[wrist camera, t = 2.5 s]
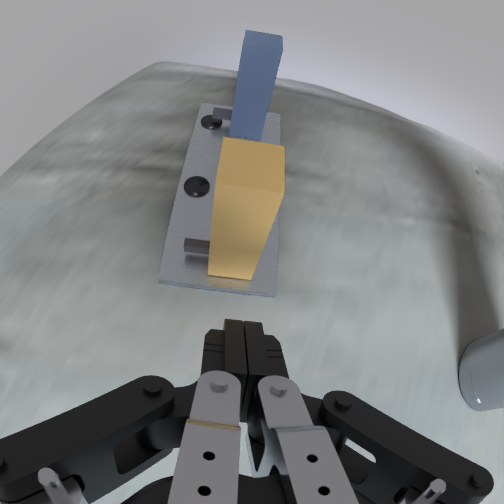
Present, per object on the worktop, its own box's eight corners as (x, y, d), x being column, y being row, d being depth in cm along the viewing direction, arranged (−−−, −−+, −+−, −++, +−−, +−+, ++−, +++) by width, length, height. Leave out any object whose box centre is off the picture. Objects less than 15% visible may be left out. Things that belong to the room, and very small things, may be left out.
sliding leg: (188, 233, 31) (186, 132, 20) (253, 242, 32) (284, 146, 20) (181, 271, 29) (173, 178, 18) (250, 279, 30) (284, 193, 19)
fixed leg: (214, 112, 40) (224, 27, 29) (262, 119, 41) (282, 36, 30) (209, 132, 38) (218, 41, 27) (260, 139, 39) (282, 50, 28)
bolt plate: (201, 108, 42) (201, 102, 41) (279, 119, 43) (280, 113, 42) (158, 283, 30) (157, 278, 29) (274, 297, 31) (277, 293, 30)
